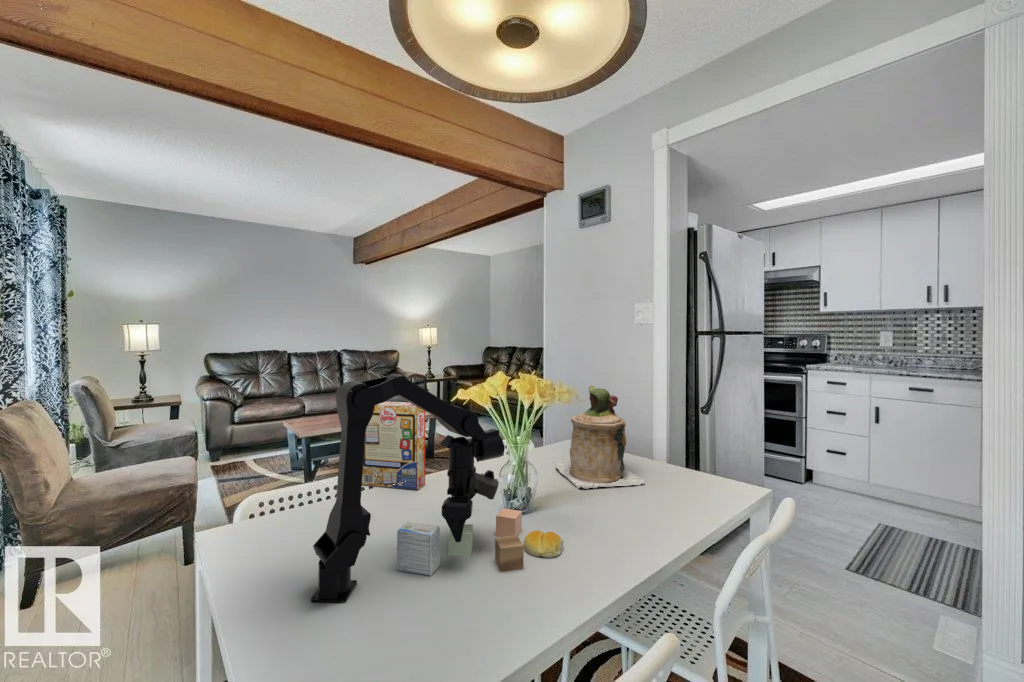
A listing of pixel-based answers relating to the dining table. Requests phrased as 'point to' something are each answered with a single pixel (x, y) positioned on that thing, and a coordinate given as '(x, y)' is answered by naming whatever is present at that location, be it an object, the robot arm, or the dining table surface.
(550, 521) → the dining table surface
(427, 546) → the medicine box
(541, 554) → the bread roll
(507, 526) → the terracotta cube
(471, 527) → the sage cube
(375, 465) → the board game box
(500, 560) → the walnut cube
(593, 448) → the cookie jar
